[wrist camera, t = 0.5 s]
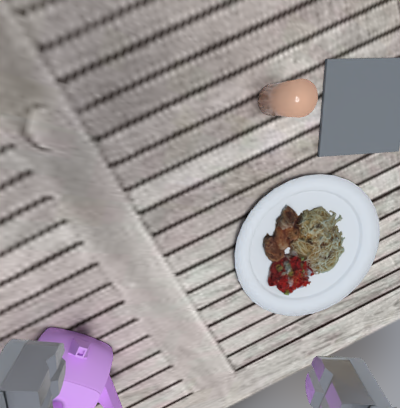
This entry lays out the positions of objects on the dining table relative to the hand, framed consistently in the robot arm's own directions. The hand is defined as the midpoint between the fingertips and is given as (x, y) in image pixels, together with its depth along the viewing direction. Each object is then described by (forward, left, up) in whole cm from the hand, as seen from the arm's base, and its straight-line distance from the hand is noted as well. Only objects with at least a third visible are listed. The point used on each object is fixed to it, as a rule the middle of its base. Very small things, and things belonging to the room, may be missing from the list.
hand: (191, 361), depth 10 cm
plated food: (+20, +28, -44) cm, 56 cm away
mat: (-6, +37, -44) cm, 58 cm away
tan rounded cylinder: (-8, +20, -44) cm, 49 cm away
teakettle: (+38, -19, -44) cm, 61 cm away
